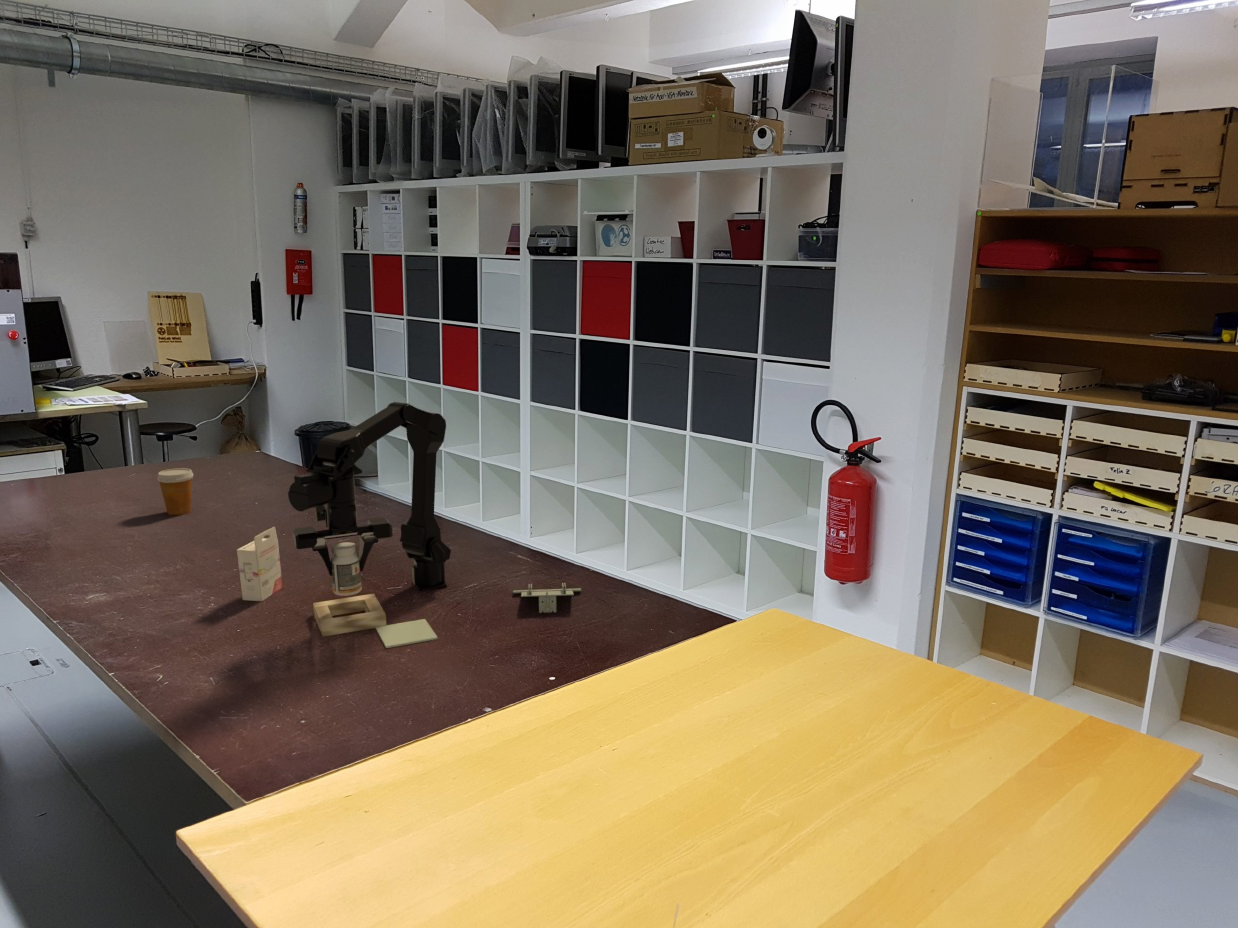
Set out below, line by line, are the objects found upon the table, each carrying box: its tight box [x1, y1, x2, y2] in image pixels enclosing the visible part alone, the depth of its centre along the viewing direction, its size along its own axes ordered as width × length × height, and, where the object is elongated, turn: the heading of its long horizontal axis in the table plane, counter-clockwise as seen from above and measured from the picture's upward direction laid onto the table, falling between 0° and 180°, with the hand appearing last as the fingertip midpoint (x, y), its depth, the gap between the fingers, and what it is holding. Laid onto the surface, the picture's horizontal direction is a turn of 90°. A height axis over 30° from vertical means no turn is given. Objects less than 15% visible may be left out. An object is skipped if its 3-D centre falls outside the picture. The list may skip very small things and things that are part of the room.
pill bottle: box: [330, 541, 363, 597], centre depth 189 cm, size 6×6×10 cm
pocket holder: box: [312, 593, 387, 637], centre depth 191 cm, size 12×12×2 cm
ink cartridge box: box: [236, 526, 283, 602], centre depth 204 cm, size 9×5×15 cm, turn 168°
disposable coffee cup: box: [156, 467, 194, 516], centre depth 266 cm, size 10×10×12 cm
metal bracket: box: [512, 582, 582, 614], centre depth 202 cm, size 14×6×15 cm
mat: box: [375, 618, 438, 649], centre depth 185 cm, size 10×10×1 cm
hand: (346, 573), depth 189 cm, fingers closed on pill bottle, 6 cm apart
